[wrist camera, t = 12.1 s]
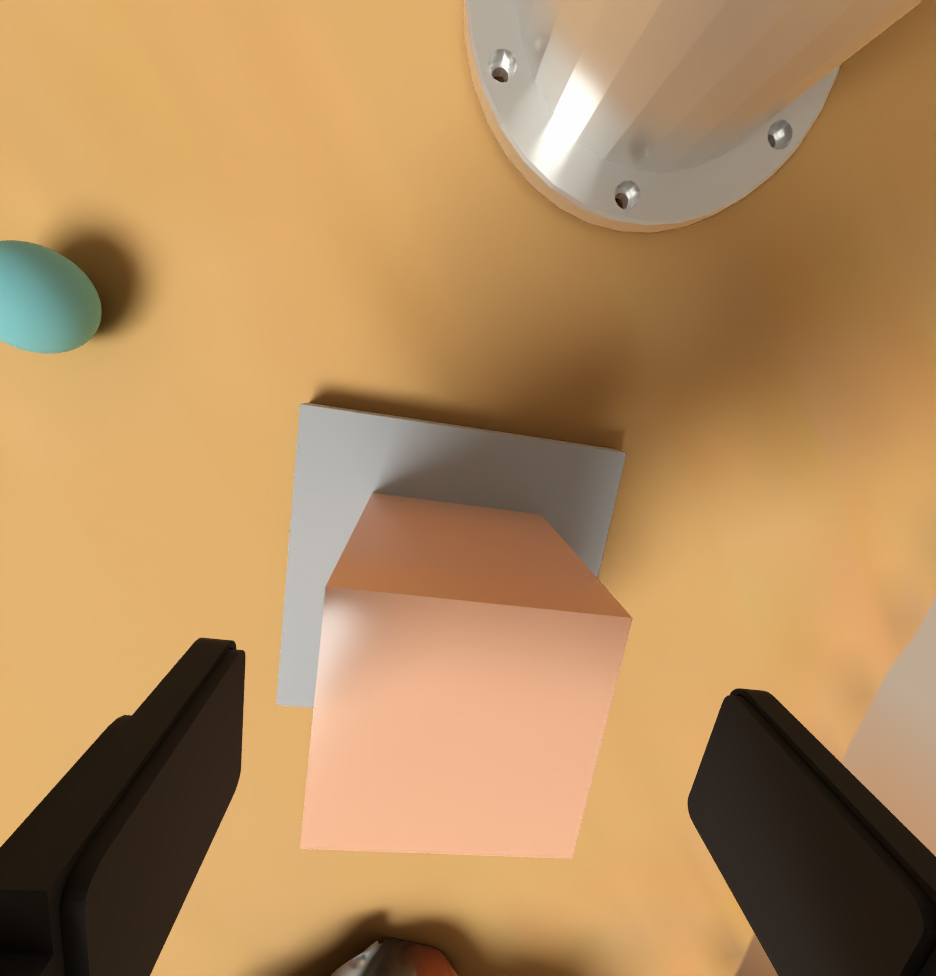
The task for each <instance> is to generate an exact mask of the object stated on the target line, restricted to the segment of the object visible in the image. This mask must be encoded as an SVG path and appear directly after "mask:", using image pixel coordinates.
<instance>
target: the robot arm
mask: <svg viewBox="0 0 936 976" xmlns="http://www.w3.org/2000/svg"><path fill="white" fill-rule="evenodd" d="M922 1H924V0H463V7H464V40H465V45H466V50H467V56H468V61H469V66H470V71H471V77H472V82H473V85H474V88H475V91H476V93H477V96H478V99H479V102H480V104H481V107H482V110H483V113H484V115H485V118H486V121H487V123H488V125H489V127H490V128H491V130H492V132H493V134H494V135H495V137H496V139H497V141H498V142H499V144H500V146H501V148H502V149H503V151H504V153H505V155H506V156H507V158H508V159H509V160H510V161H511V162H512V164H513V165H514V166H515V167H516V168H517V169H518V171H519V172H520V173H521V174H522V175H523V177H524V178H525V179H526V180H527V181H528V183H529V184H530V185H531V186H532V187H534V188H535V189H536V190H537V191H539V192H540V193H541V194H542V195H543V196H545V197H546V198H547V199H548V200H550V201H551V202H552V203H553V204H555V205H556V206H557V207H558V208H560V209H562V210H564V211H566V212H568V213H570V214H572V215H574V216H576V217H578V218H580V219H582V220H584V221H586V222H587V223H591V224H594V225H598V226H602V227H605V228H609V229H613V230H617V231H624V232H646V233H653V232H659V231H665V230H671V229H676V228H682V227H686V226H688V225H691V224H693V223H696V222H698V221H701V220H703V219H706V218H708V217H711V216H713V215H715V214H717V213H719V212H720V211H722V210H724V209H725V208H727V207H729V206H730V205H732V204H734V203H736V202H737V201H739V200H741V199H743V198H744V197H746V196H747V195H748V194H750V193H751V192H752V191H753V190H755V189H756V188H757V187H758V186H760V185H761V184H762V183H764V182H765V181H766V180H767V179H769V178H770V177H771V176H773V175H774V174H775V172H776V171H777V170H778V169H779V168H780V167H781V166H782V165H783V164H784V163H785V162H786V161H787V160H788V159H789V158H790V157H791V155H792V154H793V153H794V152H795V151H796V149H797V148H798V147H799V146H800V144H801V142H802V141H803V139H804V138H805V136H806V135H807V133H808V132H809V130H810V128H811V127H812V125H813V124H814V122H815V121H816V119H817V118H818V116H819V114H820V113H821V111H822V109H823V106H824V104H825V102H826V100H827V97H828V95H829V93H830V91H831V88H832V86H833V84H834V82H835V79H836V77H837V75H838V72H839V69H840V65H841V64H842V63H843V62H845V61H846V60H847V59H848V58H850V57H851V56H852V55H854V54H855V53H856V52H858V51H859V50H860V49H861V48H863V47H864V46H865V45H867V44H868V43H869V42H870V41H872V40H873V39H874V38H876V37H877V36H878V35H880V34H881V33H882V32H883V31H885V30H886V29H887V28H889V27H890V26H891V25H892V24H894V23H895V22H896V21H898V20H899V19H900V18H902V17H903V16H904V15H905V14H907V13H908V12H909V11H911V10H912V9H913V8H914V7H916V6H917V5H918V4H920V3H921V2H922ZM494 77H501V78H503V79H504V81H505V82H499V81H497V80H496V79H494ZM615 198H618V199H620V200H621V202H622V203H623V209H622V208H620V207H619V206H618V205H617V203H616V201H615ZM244 679H245V652H244V651H243V650H236V644H235V642H234V641H231V640H220V639H209V638H199V639H198V640H196V641H195V642H194V644H193V645H192V646H191V647H190V648H189V649H188V651H187V652H186V653H185V654H184V655H183V656H182V658H181V659H180V660H179V661H178V662H177V663H176V665H175V666H174V667H173V668H172V669H171V670H170V672H169V673H168V674H167V675H166V676H165V678H164V679H163V680H162V681H161V682H160V683H159V685H158V686H157V687H156V688H155V689H154V690H153V692H152V693H151V694H150V695H149V696H148V697H147V699H146V700H145V701H144V702H143V703H142V704H141V706H140V707H139V708H138V709H137V710H136V712H135V713H134V714H133V715H132V716H130V715H124V716H121V717H119V718H117V719H116V720H115V721H114V722H113V723H112V724H111V725H110V726H108V727H107V729H106V730H105V731H104V732H103V733H102V734H101V735H100V736H99V738H98V739H97V740H96V741H95V742H94V743H93V744H92V745H91V747H90V748H89V749H88V750H87V751H86V752H85V753H84V754H83V755H82V757H81V758H80V759H79V760H78V761H77V762H76V763H75V764H74V766H73V767H72V768H71V769H70V770H69V771H68V772H67V773H66V775H65V776H64V777H63V778H62V779H61V780H60V781H59V782H58V784H57V785H56V786H55V787H54V788H53V789H52V790H51V791H50V792H49V794H48V795H47V796H46V797H45V798H44V799H43V800H42V801H41V803H40V804H39V805H38V806H37V807H36V808H35V809H34V810H33V812H32V813H31V814H30V815H29V816H28V817H27V818H26V819H25V820H24V822H23V823H22V824H21V825H20V826H19V827H18V828H17V829H16V831H15V832H14V833H13V834H12V835H11V836H10V837H9V838H8V840H7V841H6V842H5V843H4V844H3V845H2V846H1V847H0V976H150V974H151V972H152V970H153V968H154V965H155V963H156V961H157V959H158V957H159V955H160V952H161V950H162V948H163V946H164V944H165V942H166V940H167V937H168V935H169V933H170V931H171V929H172V927H173V924H174V922H175V920H176V918H177V916H178V914H179V911H180V909H181V907H182V905H183V903H184V901H185V899H186V896H187V894H188V892H189V890H190V888H191V886H192V883H193V881H194V879H195V877H196V875H197V873H198V870H199V868H200V866H201V864H202V862H203V860H204V858H205V855H206V853H207V851H208V849H209V847H210V845H211V842H212V840H213V838H214V836H215V834H216V832H217V829H218V827H219V825H220V823H221V821H222V819H223V817H224V814H225V812H226V810H227V808H228V806H229V804H230V801H231V799H232V797H233V795H234V793H235V790H236V787H237V784H238V781H239V777H240V771H241V753H242V728H243V704H244ZM688 811H689V814H690V817H691V820H692V822H693V824H694V825H695V827H696V829H697V831H698V833H699V834H700V836H701V838H702V840H703V842H704V843H705V845H706V847H707V849H708V850H709V852H710V854H711V856H712V858H713V859H714V861H715V863H716V865H717V867H718V868H719V870H720V872H721V874H722V875H723V877H724V879H725V881H726V883H727V884H728V886H729V888H730V890H731V892H732V893H733V895H734V897H735V899H736V901H737V902H738V904H739V906H740V908H741V909H742V911H743V913H744V915H745V917H746V918H747V920H748V922H749V924H750V926H751V927H752V929H753V931H754V933H755V934H756V936H757V938H758V940H759V942H760V943H761V945H762V947H763V949H764V950H765V952H766V954H767V956H768V958H769V960H770V961H771V963H772V965H773V967H774V968H775V970H776V972H777V974H778V976H936V857H935V856H934V855H933V854H932V853H931V852H930V851H929V850H928V849H927V848H926V847H925V846H924V845H923V844H922V843H921V842H920V841H919V840H918V839H917V838H916V837H915V836H914V835H913V834H912V833H911V832H910V831H909V830H908V829H907V828H906V827H905V826H904V825H903V824H902V823H901V822H900V821H899V820H898V819H897V818H896V817H895V816H894V815H893V814H892V813H891V812H890V811H889V810H888V809H887V808H886V807H885V806H884V805H883V804H882V803H881V802H880V801H879V800H878V799H877V798H876V797H875V796H874V795H873V794H872V793H871V792H870V791H869V790H868V789H867V788H866V787H865V786H864V785H863V784H861V782H859V780H857V779H856V777H855V776H854V775H852V774H851V772H850V771H849V770H848V769H846V768H845V767H844V766H843V765H842V764H841V763H840V762H839V761H838V760H837V759H836V758H835V757H834V756H833V755H832V754H831V753H830V752H829V751H828V750H827V749H826V748H825V747H824V746H823V745H822V744H821V743H820V742H819V741H818V740H817V739H816V738H815V737H814V736H813V735H812V734H811V733H810V732H809V731H808V730H807V729H806V728H805V727H804V726H803V725H802V724H801V723H800V722H799V721H798V720H797V719H796V718H795V717H794V716H793V715H792V714H791V713H790V712H789V711H788V710H787V709H786V708H785V707H784V706H783V705H782V704H781V703H780V702H779V701H778V700H777V699H776V698H775V697H774V696H773V695H771V694H770V693H769V692H766V691H760V690H750V689H735V690H733V691H732V692H731V694H730V696H727V697H725V699H724V700H723V703H722V705H721V708H720V711H719V714H718V717H717V719H716V722H715V725H714V728H713V730H712V733H711V736H710V739H709V742H708V744H707V747H706V750H705V753H704V755H703V758H702V761H701V764H700V766H699V769H698V772H697V775H696V778H695V780H694V783H693V786H692V789H691V791H690V794H689V797H688Z"/></svg>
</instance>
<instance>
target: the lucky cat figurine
mask: <svg viewBox="0 0 936 976" xmlns="http://www.w3.org/2000/svg"><path fill="white" fill-rule="evenodd" d="M331 976H458V974H457V972H456V970H455V969H454V967H453V966H452V965H451V963H450V962H449V961H448V959H447V958H446V957H445V956H444V954H443V953H442V952H441V951H440V950H439V949H435V948H432V947H429V946H426V945H422V944H417V943H412V942H407V941H404V940H401V939H397V938H392V937H387V938H386V939H385V940H384V941H383V943H381V944H379V943H378V941H376V942H375V943H373V944H372V945H371V946H370V947H368V948H367V949H366V950H365V951H364V952H362V953H361V954H359V955H358V956H356V957H354V958H353V959H351V960H349V961H348V962H346V963H345V964H344V965H342V966H341V967H340V968H338V969H337V970H336V971H335V972H334V973H333V974H332V975H331Z"/></svg>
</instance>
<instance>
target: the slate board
mask: <svg viewBox="0 0 936 976" xmlns="http://www.w3.org/2000/svg"><path fill="white" fill-rule="evenodd" d="M625 457H626V453H625V452H622V451H619V450H616V449H612V448H606V447H599V446H592V445H586V444H579V443H573V442H566V441H559V440H553V439H546V438H539V437H533V436H526V435H520V434H513V433H506V432H500V431H493V430H486V429H480V428H473V427H467V426H460V425H453V424H447V423H440V422H433V421H427V420H420V419H413V418H407V417H400V416H394V415H387V414H380V413H374V412H367V411H360V410H354V409H347V408H341V407H334V406H327V405H321V404H314V403H304V404H300V412H299V424H298V437H297V450H296V462H295V475H294V487H293V500H292V513H291V525H290V538H289V551H288V563H287V576H286V588H285V601H284V614H283V626H282V639H281V652H280V664H279V677H278V689H277V702H276V705H285V706H298V707H312V708H314V700H315V690H316V679H317V669H318V659H319V649H320V638H321V628H322V618H323V607H324V597H325V587H326V584H327V582H328V580H329V578H330V576H331V574H332V572H333V570H334V568H335V566H336V564H337V562H338V560H339V558H340V556H341V554H342V552H343V550H344V548H345V546H346V544H347V542H348V540H349V538H350V536H351V534H352V533H353V531H354V529H355V527H356V525H357V523H358V521H359V519H360V517H361V515H362V513H363V511H364V509H365V507H366V505H367V503H368V501H369V499H370V497H371V495H372V493H379V494H387V495H395V496H402V497H410V498H418V499H426V500H433V501H441V502H449V503H457V504H464V505H472V506H480V507H488V508H496V509H503V510H511V511H519V512H527V513H534V514H541V515H542V516H543V517H544V518H545V519H546V521H547V522H548V523H549V524H550V525H551V526H552V527H553V529H554V530H555V531H556V532H557V533H558V534H559V535H560V537H561V538H562V539H563V540H564V541H565V542H566V543H567V544H568V546H569V547H570V548H571V549H572V550H573V551H574V552H575V554H576V555H577V556H578V557H579V558H580V559H581V560H582V561H583V563H584V564H585V565H586V566H587V567H588V568H589V569H590V571H591V572H592V573H593V574H594V575H595V576H596V577H597V578H598V574H599V570H600V566H601V561H602V557H603V553H604V548H605V544H606V540H607V535H608V531H609V526H610V522H611V518H612V513H613V509H614V505H615V500H616V496H617V492H618V487H619V483H620V479H621V474H622V470H623V466H624V461H625Z"/></svg>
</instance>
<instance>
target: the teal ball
mask: <svg viewBox="0 0 936 976" xmlns="http://www.w3.org/2000/svg"><path fill="white" fill-rule="evenodd" d="M101 315H102V309H101V302H100V298H99V295H98V293H97V291H96V288H95V287H94V285H93V284H92V282H91V280H90V279H89V278H88V277H87V275H86V274H85V273H84V272H83V271H82V270H81V269H80V268H79V267H78V266H77V265H75V264H74V263H73V262H72V261H70V260H69V259H67V258H66V257H64V256H63V255H61V254H59V253H57V252H55V251H53V250H51V249H49V248H46V247H44V246H41V245H37V244H34V243H29V242H23V241H14V240H13V241H0V341H2V342H4V343H6V344H8V345H11V346H13V347H16V348H19V349H22V350H26V351H30V352H36V353H60V352H66V351H70V350H73V349H75V348H77V347H80V346H82V345H83V344H85V343H86V342H87V341H88V340H90V339H91V338H92V337H93V335H94V334H95V333H96V331H97V329H98V327H99V325H100V321H101Z"/></svg>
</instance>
